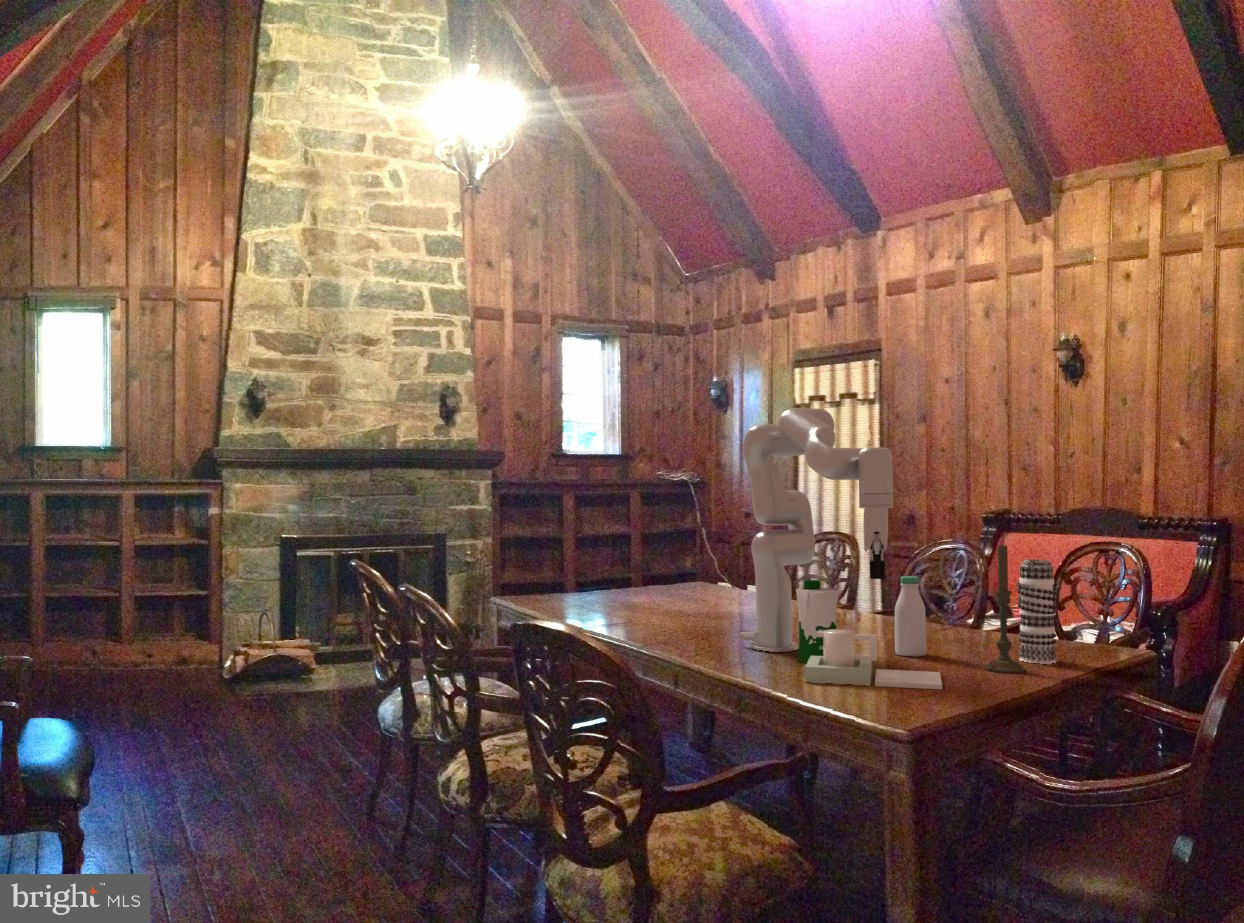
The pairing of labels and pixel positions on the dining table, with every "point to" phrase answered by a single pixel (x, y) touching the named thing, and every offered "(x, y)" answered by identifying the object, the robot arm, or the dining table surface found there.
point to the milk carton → (815, 617)
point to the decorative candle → (1037, 611)
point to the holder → (838, 672)
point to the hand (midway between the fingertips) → (877, 576)
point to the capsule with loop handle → (845, 647)
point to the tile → (908, 679)
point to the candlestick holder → (1003, 620)
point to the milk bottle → (910, 619)
